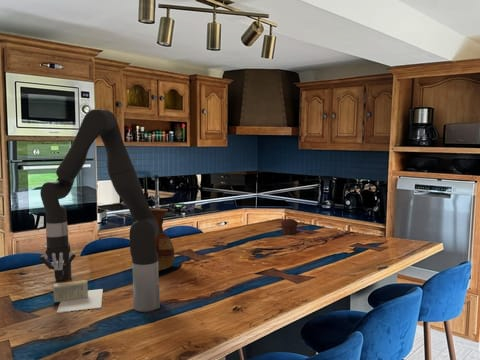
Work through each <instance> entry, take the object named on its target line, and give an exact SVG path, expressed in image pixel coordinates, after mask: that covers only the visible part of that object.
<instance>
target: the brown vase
mask: <svg viewBox="0 0 480 360" xmlns="http://www.w3.org/2000/svg"><path fill="white" fill-rule="evenodd" d="M150 209H151V211H152V213H153V215H154V217H155V219H156V221H157V223H158V225H159V233H158V235H157V237H156V238H155V243H156V252H157V253H158V272H160V271H162V270H166V269H168V268H170V267H172V266H173V265H174V261H175V249H174V245H173V242H172V240H171V239H170V237H169V235H167V234H166V233H165V232H164V228H163V223H164V216H165V215H166V214H167V212H169V209H167V208H153V207H152V208H151V207H150Z"/></svg>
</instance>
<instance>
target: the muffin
mask: <svg viewBox="0 0 480 360" xmlns="http://www.w3.org/2000/svg"><path fill="white" fill-rule="evenodd" d="M280 225H281V229H282V235H285V236H295V235H296V234H297V228H298V226H299V223H298V222H297V220H295V219H294V218H286V219H283V220H282V221H281V223H280Z"/></svg>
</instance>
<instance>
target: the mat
mask: <svg viewBox="0 0 480 360" xmlns="http://www.w3.org/2000/svg"><path fill="white" fill-rule="evenodd" d="M103 291H104V289H103V288H99V289H91V290H90V289H88V298H81V299H74V300H67V301H61V302H59V304H58V308H57V311H56V314H62V313H63V314H64V313H71V311H73V312H79V310H81V311H89V310H88V309H90V310H97V309H102V303H103Z"/></svg>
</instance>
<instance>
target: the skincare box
mask: <svg viewBox="0 0 480 360" xmlns="http://www.w3.org/2000/svg"><path fill="white" fill-rule="evenodd" d="M88 288H89V287H88V280H87V279H82V280H74V281H67V282H66V281H63V282H58V283H53V302H54V303H60V302H61V301H67V300H74V299H81V298H88V290H89V289H88Z"/></svg>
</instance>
